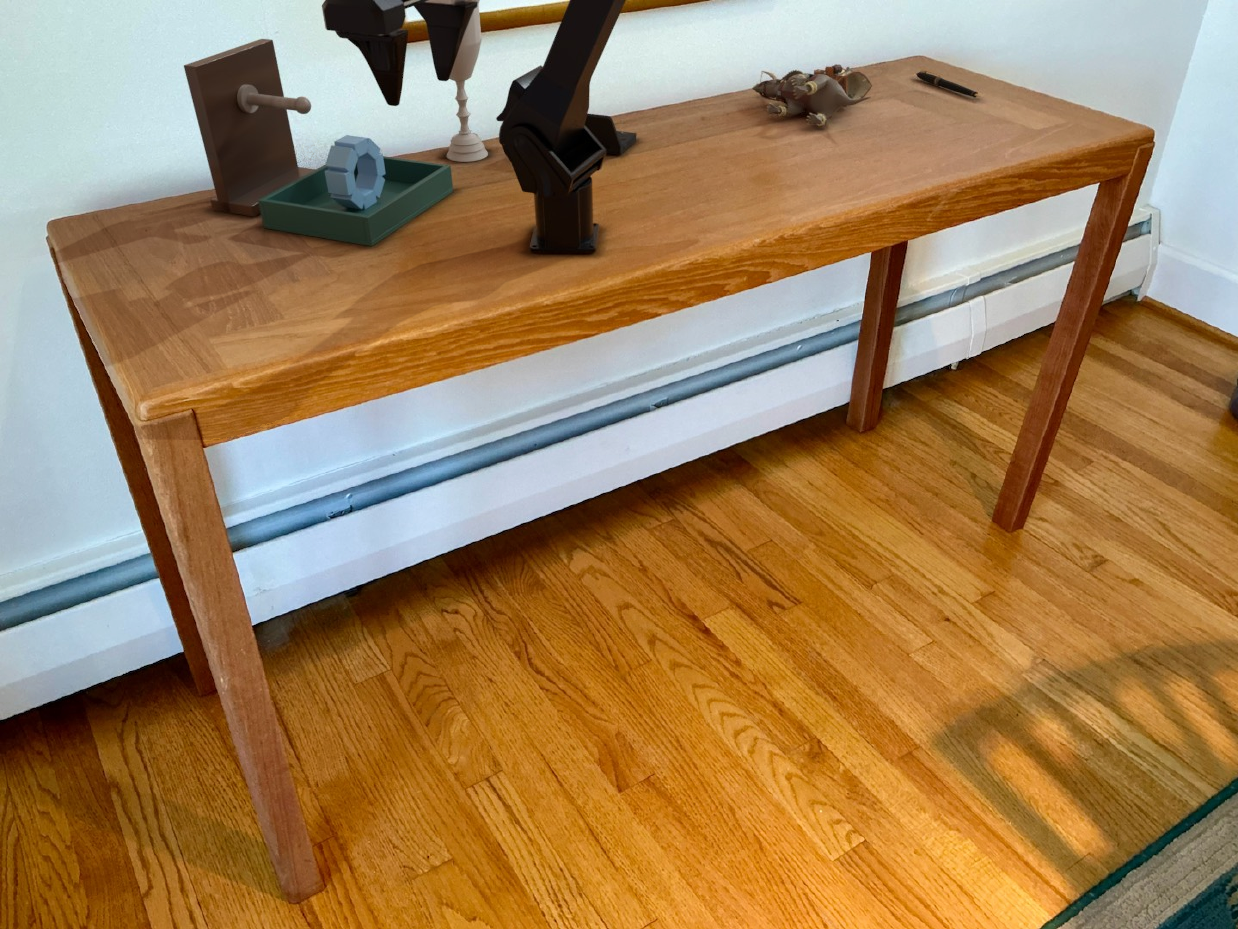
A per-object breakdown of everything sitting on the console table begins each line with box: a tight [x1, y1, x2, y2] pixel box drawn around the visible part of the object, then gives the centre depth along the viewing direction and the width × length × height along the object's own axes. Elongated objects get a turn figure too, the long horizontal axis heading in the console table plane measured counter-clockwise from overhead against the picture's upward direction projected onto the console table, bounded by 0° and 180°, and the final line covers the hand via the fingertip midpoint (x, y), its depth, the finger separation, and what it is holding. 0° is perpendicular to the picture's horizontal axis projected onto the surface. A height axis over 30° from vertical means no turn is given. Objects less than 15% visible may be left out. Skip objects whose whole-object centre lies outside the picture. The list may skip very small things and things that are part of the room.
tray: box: [258, 155, 454, 247], centre depth 106 cm, size 13×16×3 cm
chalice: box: [446, 0, 489, 163], centre depth 115 cm, size 7×7×18 cm
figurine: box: [751, 63, 873, 127], centre depth 133 cm, size 20×6×17 cm
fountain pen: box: [915, 69, 984, 99], centre depth 142 cm, size 14×1×2 cm, turn 26°
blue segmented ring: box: [324, 134, 386, 210], centre depth 104 cm, size 2×7×7 cm, turn 158°
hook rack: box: [183, 38, 317, 218], centre depth 105 cm, size 11×12×15 cm
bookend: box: [585, 113, 637, 156], centre depth 121 cm, size 12×7×10 cm
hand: (419, 92), depth 96 cm, fingers open, 9 cm apart
